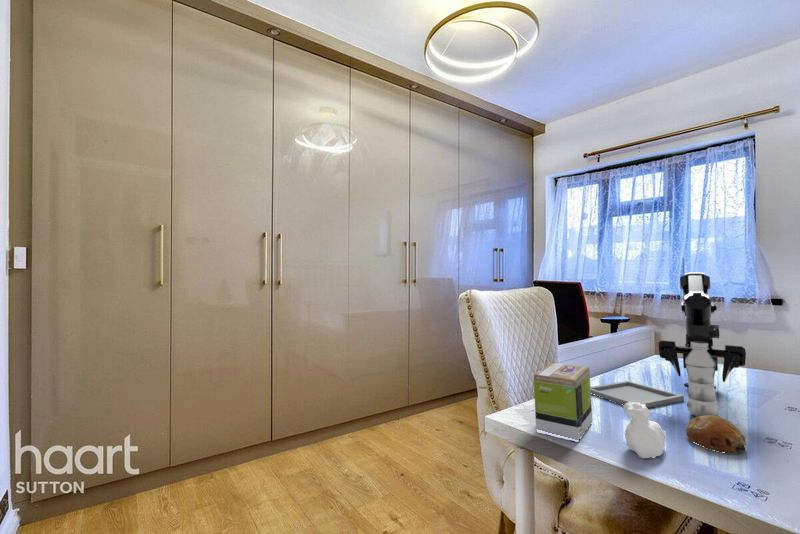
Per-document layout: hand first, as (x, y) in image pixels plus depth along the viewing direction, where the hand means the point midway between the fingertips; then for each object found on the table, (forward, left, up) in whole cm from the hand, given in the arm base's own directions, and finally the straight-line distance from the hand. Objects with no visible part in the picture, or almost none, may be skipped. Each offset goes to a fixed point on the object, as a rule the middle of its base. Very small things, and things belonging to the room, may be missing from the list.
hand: (700, 378), depth 98 cm
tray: (+1, -19, -10) cm, 22 cm away
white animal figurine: (+33, +7, -11) cm, 35 cm away
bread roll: (+15, +11, -11) cm, 21 cm away
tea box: (+39, -9, -11) cm, 41 cm away
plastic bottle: (0, 0, -11) cm, 11 cm away
